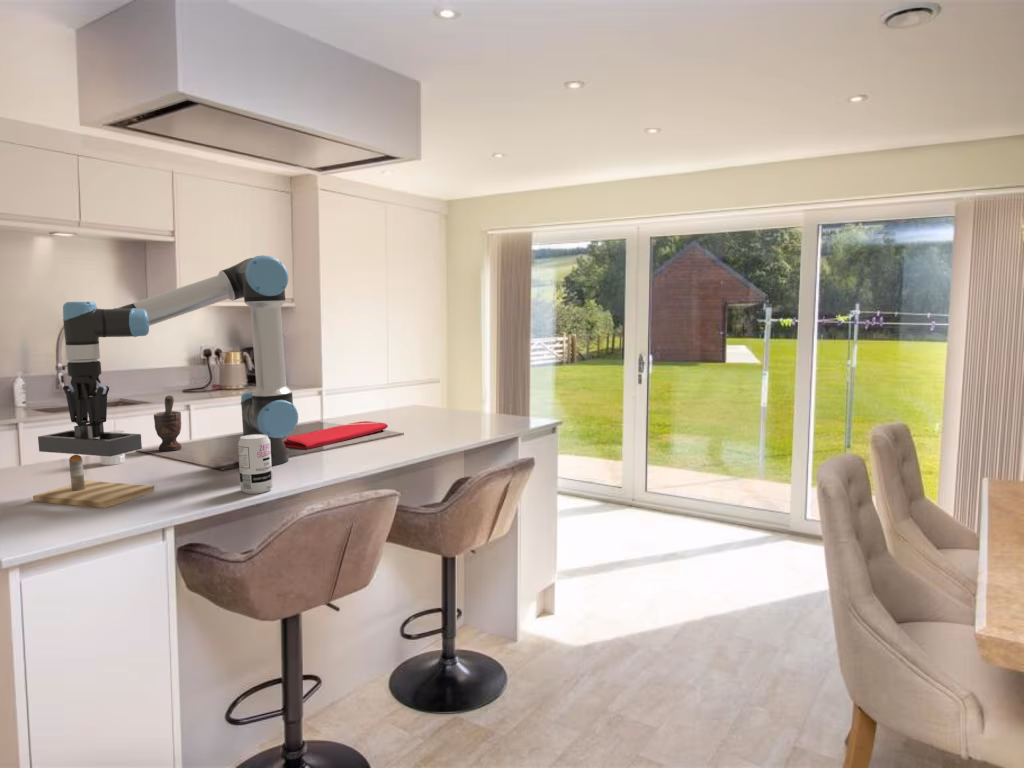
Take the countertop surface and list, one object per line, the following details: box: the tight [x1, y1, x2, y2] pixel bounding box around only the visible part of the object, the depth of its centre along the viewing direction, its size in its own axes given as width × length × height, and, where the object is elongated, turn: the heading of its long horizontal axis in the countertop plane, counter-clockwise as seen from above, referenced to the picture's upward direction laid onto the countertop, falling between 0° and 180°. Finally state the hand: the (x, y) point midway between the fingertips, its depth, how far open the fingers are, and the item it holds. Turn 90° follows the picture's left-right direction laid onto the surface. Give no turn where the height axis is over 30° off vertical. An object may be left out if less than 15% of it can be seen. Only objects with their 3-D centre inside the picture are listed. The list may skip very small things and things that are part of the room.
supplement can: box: [237, 434, 274, 495], centre depth 189 cm, size 8×8×15 cm
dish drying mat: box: [283, 420, 389, 450], centre depth 264 cm, size 16×41×4 cm, turn 146°
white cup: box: [100, 430, 126, 466], centre depth 225 cm, size 8×8×10 cm
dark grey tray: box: [37, 422, 143, 457], centre depth 184 cm, size 10×24×7 cm, turn 73°
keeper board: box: [32, 454, 156, 509], centre depth 186 cm, size 24×16×11 cm, turn 73°
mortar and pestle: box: [153, 394, 182, 452], centre depth 244 cm, size 12×9×20 cm
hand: (90, 448), depth 185 cm, fingers closed on dark grey tray, 2 cm apart
